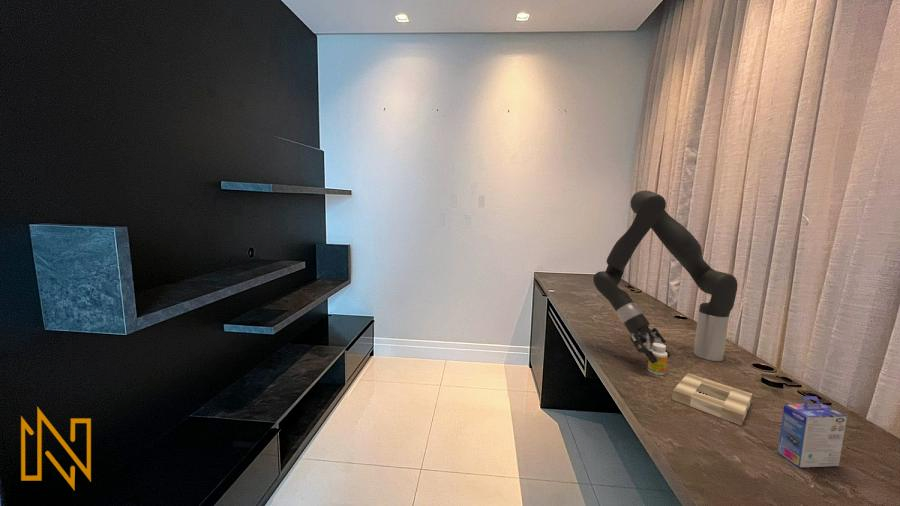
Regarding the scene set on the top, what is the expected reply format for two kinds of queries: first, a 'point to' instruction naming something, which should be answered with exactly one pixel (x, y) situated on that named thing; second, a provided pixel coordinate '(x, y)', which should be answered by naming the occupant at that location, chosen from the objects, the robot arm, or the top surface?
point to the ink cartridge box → (811, 434)
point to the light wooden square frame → (728, 409)
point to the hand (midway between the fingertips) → (661, 359)
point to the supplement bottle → (661, 356)
